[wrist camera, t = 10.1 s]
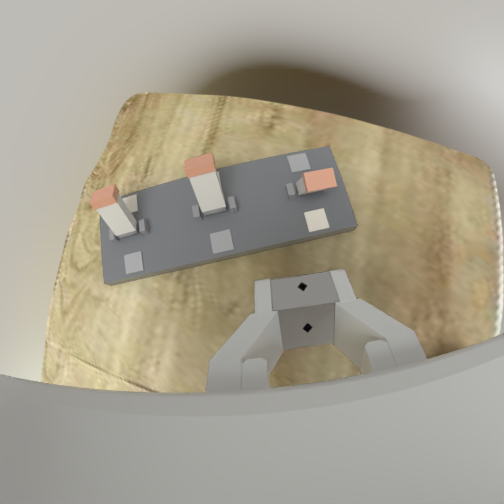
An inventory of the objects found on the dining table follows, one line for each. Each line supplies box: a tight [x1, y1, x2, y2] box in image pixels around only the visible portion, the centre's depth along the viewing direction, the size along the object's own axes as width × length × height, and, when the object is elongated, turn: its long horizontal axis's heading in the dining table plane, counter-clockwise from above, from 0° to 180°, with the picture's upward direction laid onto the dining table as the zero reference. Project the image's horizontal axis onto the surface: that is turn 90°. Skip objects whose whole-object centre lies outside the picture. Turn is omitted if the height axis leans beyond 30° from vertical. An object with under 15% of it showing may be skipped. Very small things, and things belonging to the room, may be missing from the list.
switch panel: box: [100, 146, 358, 286], centre depth 39 cm, size 12×34×4 cm, turn 102°
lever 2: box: [296, 168, 337, 195], centre depth 34 cm, size 2×3×8 cm, turn 102°
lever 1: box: [90, 184, 139, 238], centre depth 36 cm, size 2×3×8 cm, turn 103°
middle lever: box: [185, 153, 227, 216], centre depth 36 cm, size 2×3×8 cm, turn 102°
